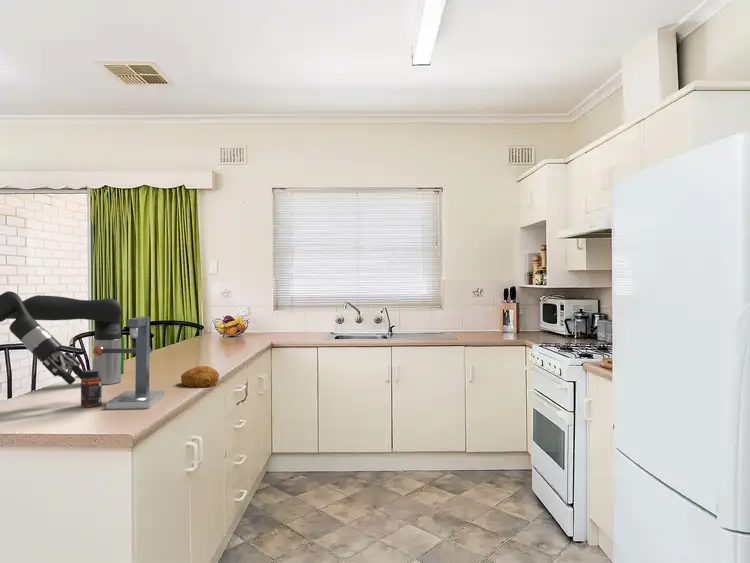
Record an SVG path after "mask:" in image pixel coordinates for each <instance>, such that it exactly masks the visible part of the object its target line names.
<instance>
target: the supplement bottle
mask: <svg viewBox="0 0 750 563" xmlns="http://www.w3.org/2000/svg"><path fill="white" fill-rule="evenodd" d="M84 375H85V376H84V377H83V378H82V379H80V406H81V407H82V408H95V407H98V406H99V407H100V406H101V405H102V400H103V399H102V397H103V396H102V392H103V391H102V390H103V388H102V385H103V384H102V379H101V377H99V376H98V370H93V369H89V370H85V371H84Z"/></svg>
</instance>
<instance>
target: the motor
mask: <svg viewBox="0 0 750 563" xmlns="http://www.w3.org/2000/svg"><path fill="white" fill-rule="evenodd" d="M121 349H125V337H122V336H121ZM124 359H125V353H121V375H122V374H124V372H125V371H124V368H125V367H124V366H125V362H124V361H125V360H124Z"/></svg>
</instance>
